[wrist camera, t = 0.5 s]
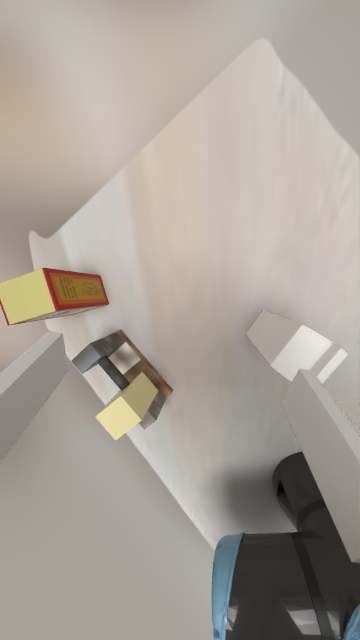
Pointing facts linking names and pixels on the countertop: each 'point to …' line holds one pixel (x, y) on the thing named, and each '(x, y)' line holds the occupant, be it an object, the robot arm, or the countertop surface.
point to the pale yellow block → (128, 406)
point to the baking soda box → (50, 295)
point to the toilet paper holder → (124, 368)
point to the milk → (294, 347)
